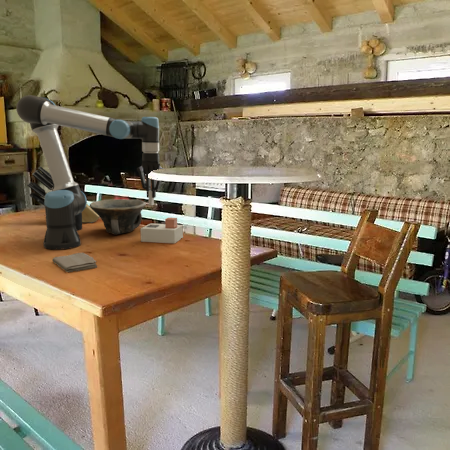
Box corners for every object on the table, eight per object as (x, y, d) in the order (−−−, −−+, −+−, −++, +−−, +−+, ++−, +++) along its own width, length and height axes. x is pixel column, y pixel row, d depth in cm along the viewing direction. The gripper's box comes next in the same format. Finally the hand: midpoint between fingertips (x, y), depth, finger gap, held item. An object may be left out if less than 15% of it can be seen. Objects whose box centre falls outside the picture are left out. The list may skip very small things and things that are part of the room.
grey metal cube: (155, 236, 204) (155, 226, 204) (147, 235, 205) (146, 226, 204) (158, 234, 208) (158, 224, 208) (150, 233, 209) (150, 224, 208)
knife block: (32, 222, 246) (27, 165, 240) (99, 219, 256) (96, 164, 250) (30, 226, 235) (25, 167, 229) (99, 222, 245) (96, 166, 239)
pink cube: (174, 229, 202) (174, 219, 201) (165, 228, 203) (165, 219, 202) (177, 227, 206) (177, 217, 205) (168, 227, 207) (168, 217, 206)
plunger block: (174, 243, 199) (174, 230, 198) (140, 241, 202) (140, 228, 201) (182, 237, 210) (182, 225, 209) (150, 235, 214) (150, 223, 213)
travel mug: (79, 231, 224) (77, 191, 220) (64, 231, 224) (62, 191, 220) (84, 228, 231) (82, 189, 227) (70, 227, 231) (67, 189, 228)
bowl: (134, 239, 206) (132, 207, 203) (81, 237, 211) (79, 205, 208) (154, 228, 232) (153, 199, 229) (107, 226, 237) (105, 197, 234)
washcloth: (67, 274, 155) (66, 266, 155) (51, 263, 169) (50, 255, 169) (100, 268, 162) (99, 260, 162) (81, 258, 176) (81, 250, 176)
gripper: (167, 152, 202) (167, 204, 206) (140, 151, 204) (141, 202, 209) (161, 153, 195) (162, 206, 199) (133, 152, 197) (134, 205, 202)
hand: (151, 204), depth 204 cm, fingers closed
